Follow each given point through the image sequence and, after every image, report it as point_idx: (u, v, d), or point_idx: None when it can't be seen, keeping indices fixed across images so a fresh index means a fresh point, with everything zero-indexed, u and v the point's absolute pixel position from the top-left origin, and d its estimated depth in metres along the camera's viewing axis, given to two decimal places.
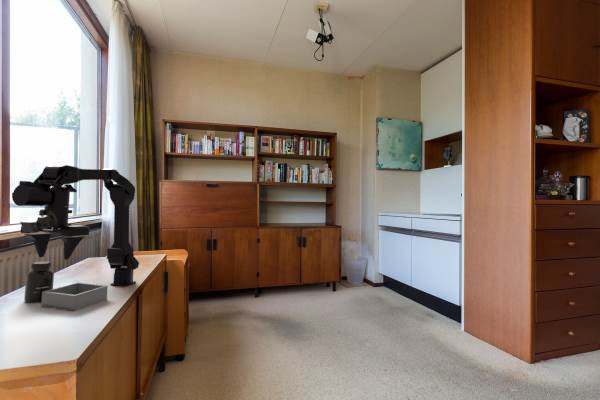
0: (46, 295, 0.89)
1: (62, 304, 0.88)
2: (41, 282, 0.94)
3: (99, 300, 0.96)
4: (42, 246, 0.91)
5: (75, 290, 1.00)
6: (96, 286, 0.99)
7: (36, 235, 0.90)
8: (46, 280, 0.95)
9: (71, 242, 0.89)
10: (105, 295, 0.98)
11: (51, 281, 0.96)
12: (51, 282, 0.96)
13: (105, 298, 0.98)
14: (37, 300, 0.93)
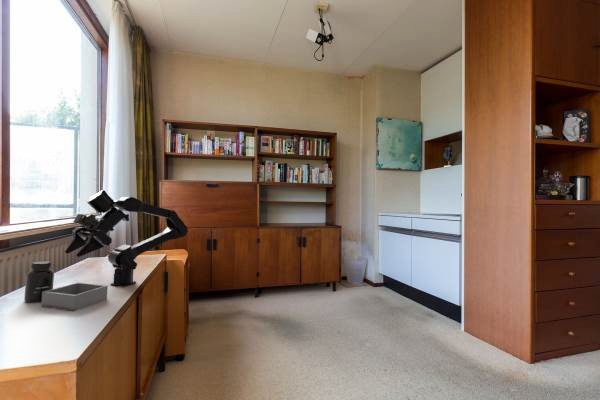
0: (46, 295, 0.89)
1: (62, 304, 0.88)
2: (41, 282, 0.94)
3: (99, 300, 0.96)
4: (74, 246, 1.08)
5: (75, 290, 1.00)
6: (96, 286, 0.99)
7: (78, 236, 1.09)
8: (46, 280, 0.95)
9: (91, 245, 1.03)
10: (105, 295, 0.98)
11: (51, 281, 0.96)
12: (51, 282, 0.96)
13: (105, 298, 0.98)
14: (37, 300, 0.93)
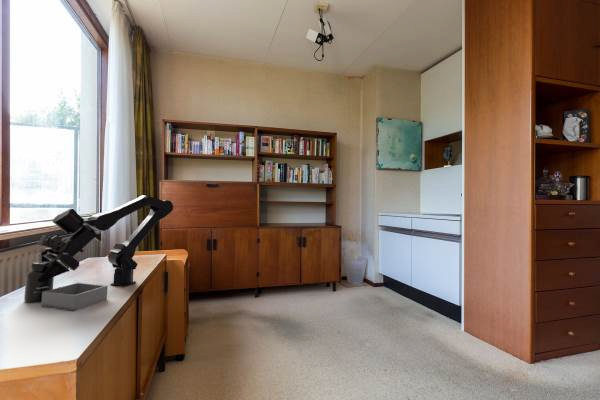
0: (46, 295, 0.89)
1: (62, 304, 0.88)
2: (41, 282, 0.94)
3: (99, 300, 0.96)
4: None
5: (75, 290, 1.00)
6: (96, 286, 0.99)
7: (45, 258, 1.00)
8: (46, 280, 0.95)
9: (55, 269, 0.95)
10: (105, 295, 0.98)
11: (51, 281, 0.96)
12: (51, 282, 0.96)
13: (105, 298, 0.98)
14: (37, 300, 0.93)
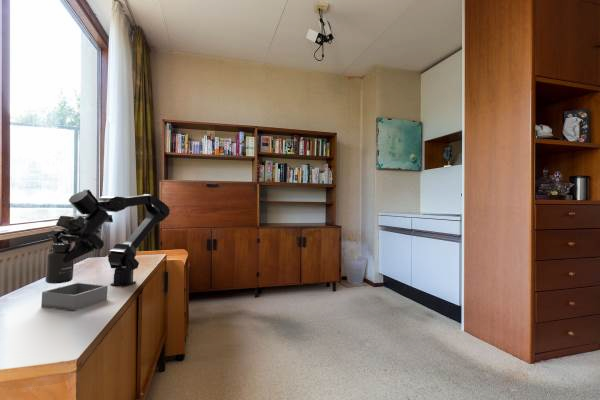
0: (46, 295, 0.89)
1: (62, 304, 0.88)
2: (66, 263, 0.93)
3: (99, 300, 0.96)
4: None
5: (75, 290, 1.00)
6: (96, 286, 0.99)
7: (60, 240, 0.98)
8: (70, 261, 0.94)
9: (79, 249, 0.95)
10: (105, 295, 0.98)
11: (73, 262, 0.96)
12: (73, 263, 0.96)
13: (105, 298, 0.98)
14: (62, 281, 0.92)
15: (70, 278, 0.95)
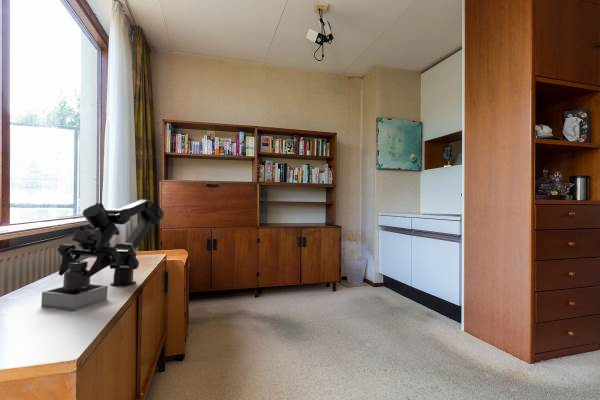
0: (46, 295, 0.89)
1: (62, 304, 0.88)
2: (85, 281, 0.94)
3: (99, 300, 0.96)
4: (66, 266, 0.96)
5: None
6: (96, 286, 0.99)
7: (69, 254, 0.97)
8: (88, 279, 0.95)
9: (100, 263, 0.96)
10: (105, 295, 0.98)
11: None
12: (89, 281, 0.97)
13: (105, 298, 0.98)
14: None
15: None
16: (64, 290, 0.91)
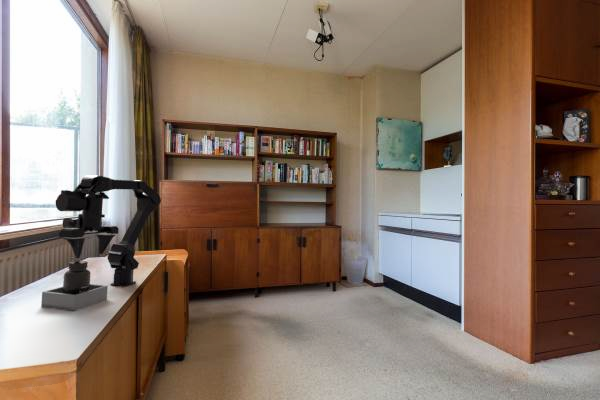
0: (46, 295, 0.89)
1: (62, 304, 0.88)
2: (85, 281, 0.94)
3: (99, 300, 0.96)
4: (102, 245, 1.09)
5: None
6: (96, 286, 0.99)
7: (99, 235, 1.10)
8: (88, 279, 0.95)
9: (75, 243, 0.99)
10: (105, 295, 0.98)
11: None
12: (89, 281, 0.97)
13: (105, 298, 0.98)
14: None
15: None
16: (64, 290, 0.91)
